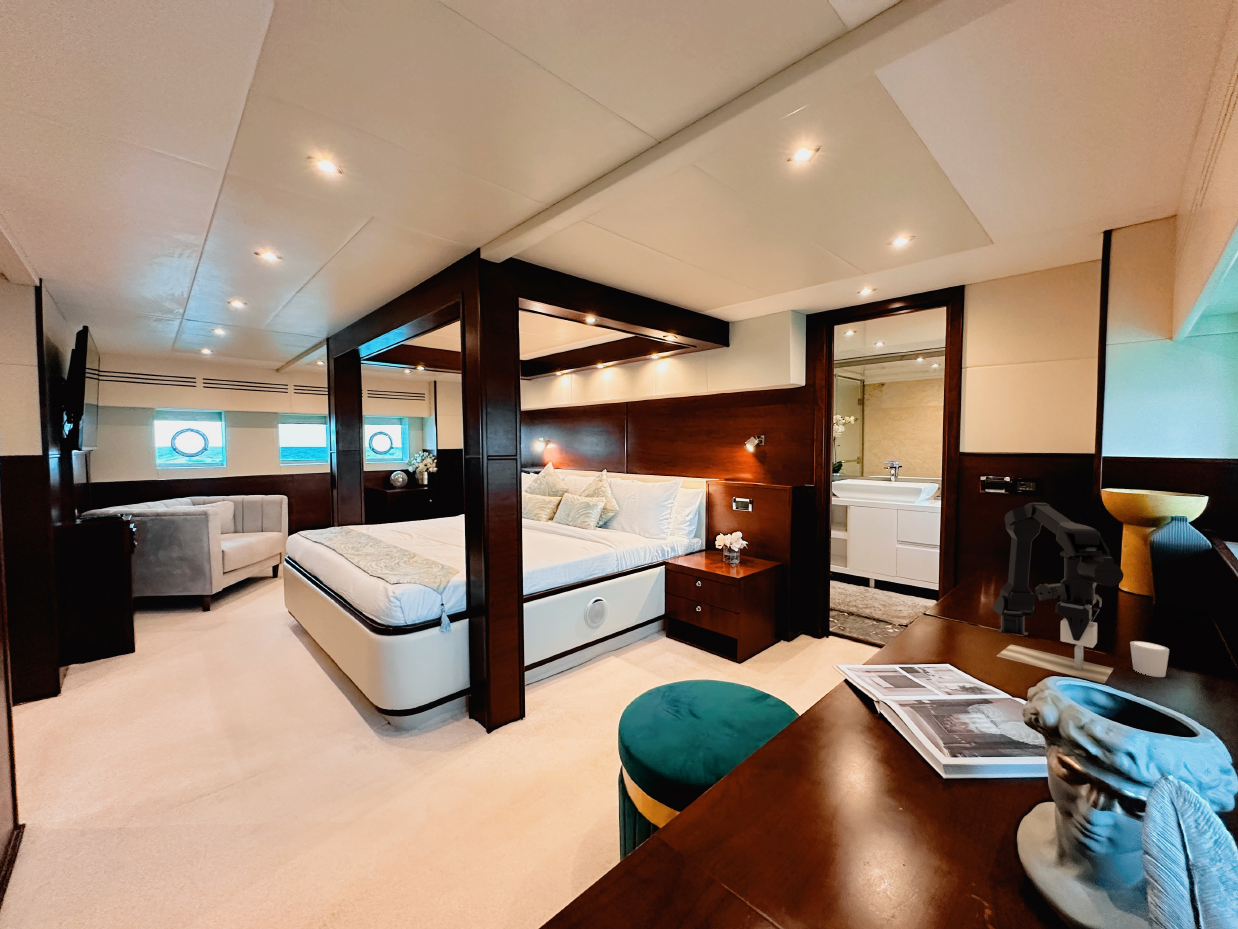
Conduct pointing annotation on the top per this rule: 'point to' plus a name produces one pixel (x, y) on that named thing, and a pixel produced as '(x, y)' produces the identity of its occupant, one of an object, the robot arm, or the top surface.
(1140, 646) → the shot glass
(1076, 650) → the post
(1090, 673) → the maple board
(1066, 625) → the box
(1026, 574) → the robot arm
